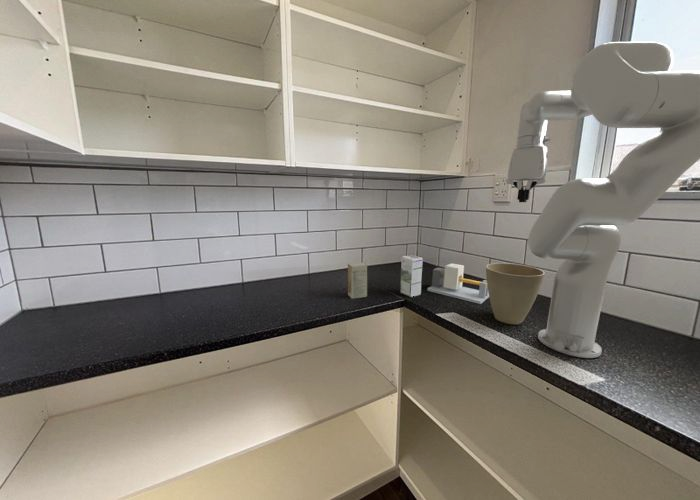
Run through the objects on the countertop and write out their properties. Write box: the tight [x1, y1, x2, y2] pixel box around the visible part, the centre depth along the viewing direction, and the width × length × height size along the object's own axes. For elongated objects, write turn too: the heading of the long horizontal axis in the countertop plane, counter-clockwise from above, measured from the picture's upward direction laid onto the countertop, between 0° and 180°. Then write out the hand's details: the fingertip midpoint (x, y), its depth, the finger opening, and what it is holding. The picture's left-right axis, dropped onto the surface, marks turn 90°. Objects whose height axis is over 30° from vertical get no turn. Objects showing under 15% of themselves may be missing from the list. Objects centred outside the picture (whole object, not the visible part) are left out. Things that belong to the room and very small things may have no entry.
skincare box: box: [347, 262, 368, 300], centre depth 101 cm, size 6×4×12 cm
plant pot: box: [485, 262, 546, 325], centre depth 82 cm, size 15×15×16 cm
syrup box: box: [399, 254, 424, 298], centre depth 103 cm, size 6×6×14 cm
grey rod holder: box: [426, 267, 489, 305], centre depth 105 cm, size 12×22×8 cm, turn 48°
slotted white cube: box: [444, 262, 465, 290], centre depth 107 cm, size 6×5×8 cm
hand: (522, 202), depth 91 cm, fingers closed
